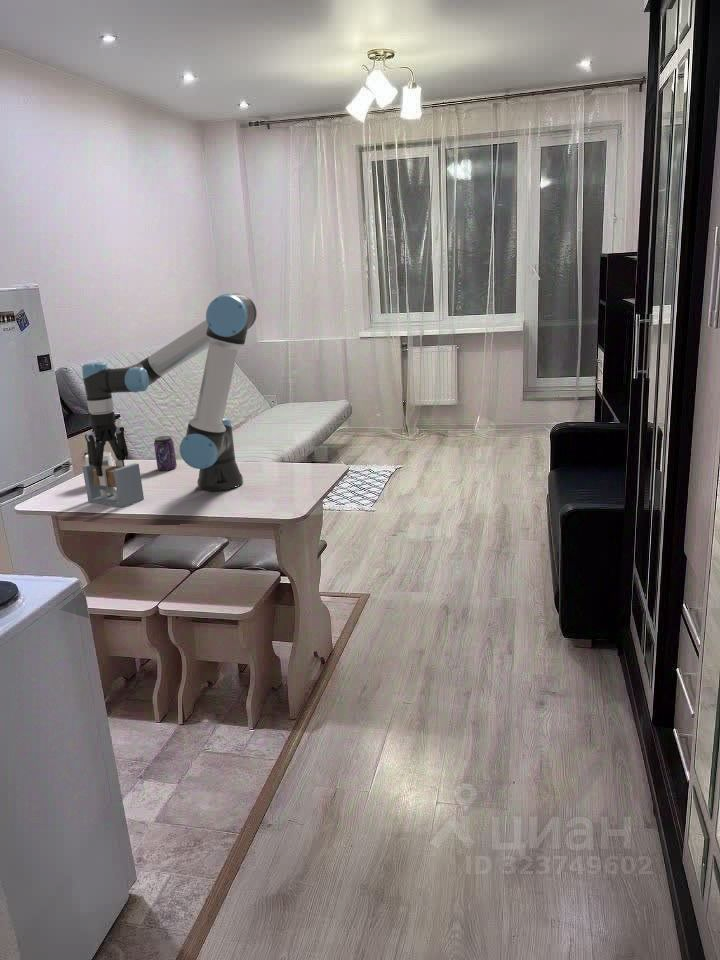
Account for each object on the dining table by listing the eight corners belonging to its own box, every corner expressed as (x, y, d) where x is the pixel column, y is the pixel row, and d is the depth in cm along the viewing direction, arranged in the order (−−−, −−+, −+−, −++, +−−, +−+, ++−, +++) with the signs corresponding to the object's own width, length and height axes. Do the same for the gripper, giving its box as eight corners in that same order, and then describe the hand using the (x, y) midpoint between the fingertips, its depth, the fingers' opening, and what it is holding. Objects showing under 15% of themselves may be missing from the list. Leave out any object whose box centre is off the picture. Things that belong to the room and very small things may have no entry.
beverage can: (153, 470, 268) (149, 439, 265) (165, 465, 275) (161, 435, 271) (169, 471, 266) (165, 440, 262) (180, 466, 272) (176, 435, 269)
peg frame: (144, 499, 233) (138, 463, 229) (123, 507, 226) (117, 470, 223) (109, 493, 242) (103, 459, 238) (88, 501, 235) (82, 465, 231)
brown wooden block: (94, 485, 232) (91, 470, 230) (107, 480, 237) (105, 465, 235) (117, 487, 227) (115, 472, 226) (131, 482, 233) (128, 467, 231)
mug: (126, 478, 260) (122, 449, 257) (104, 487, 250) (99, 458, 247) (107, 477, 263) (103, 449, 260) (84, 486, 253) (79, 457, 250)
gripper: (118, 406, 235) (128, 473, 242) (67, 417, 220) (80, 489, 226) (133, 407, 232) (143, 475, 238) (83, 418, 216) (95, 491, 222)
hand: (112, 482), depth 232 cm, fingers closed on brown wooden block, 6 cm apart
